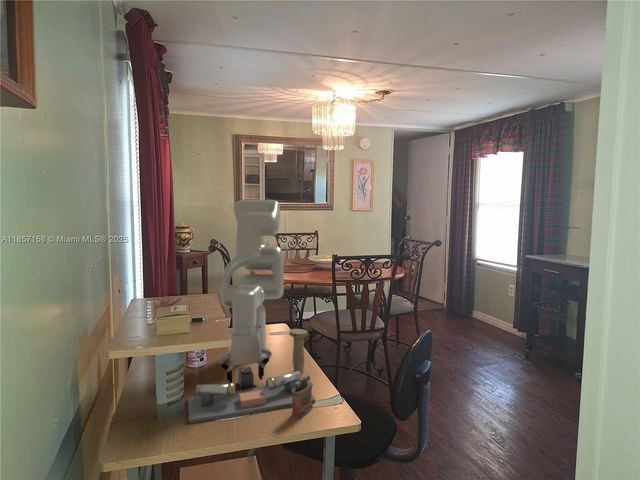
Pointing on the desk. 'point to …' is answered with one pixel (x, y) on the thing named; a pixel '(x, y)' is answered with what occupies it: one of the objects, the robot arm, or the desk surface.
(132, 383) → the desk surface
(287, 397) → the base plate
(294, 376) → the shaft
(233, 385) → the shaft
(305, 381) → the lighter
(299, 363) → the handle
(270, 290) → the robot arm
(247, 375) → the block
